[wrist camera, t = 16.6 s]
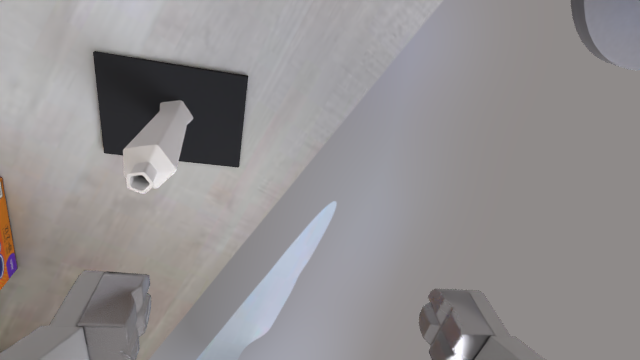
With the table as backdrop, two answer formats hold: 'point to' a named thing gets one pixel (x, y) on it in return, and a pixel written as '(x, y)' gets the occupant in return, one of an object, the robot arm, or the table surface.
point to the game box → (5, 242)
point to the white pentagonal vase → (156, 148)
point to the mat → (171, 85)
